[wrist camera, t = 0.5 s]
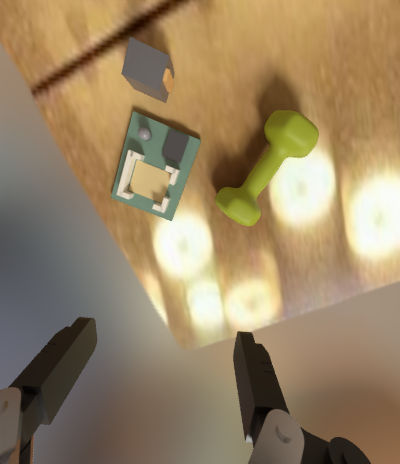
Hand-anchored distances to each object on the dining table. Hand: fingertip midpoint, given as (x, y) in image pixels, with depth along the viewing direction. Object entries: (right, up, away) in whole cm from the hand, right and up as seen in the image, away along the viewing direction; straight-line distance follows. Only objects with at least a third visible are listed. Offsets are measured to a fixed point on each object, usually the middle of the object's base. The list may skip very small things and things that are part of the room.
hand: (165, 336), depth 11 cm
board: (-6, +16, +22) cm, 28 cm away
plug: (-5, +28, +18) cm, 34 cm away
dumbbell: (+11, +16, +22) cm, 30 cm away
